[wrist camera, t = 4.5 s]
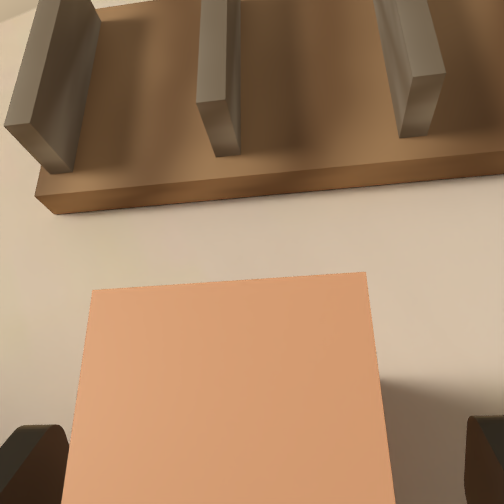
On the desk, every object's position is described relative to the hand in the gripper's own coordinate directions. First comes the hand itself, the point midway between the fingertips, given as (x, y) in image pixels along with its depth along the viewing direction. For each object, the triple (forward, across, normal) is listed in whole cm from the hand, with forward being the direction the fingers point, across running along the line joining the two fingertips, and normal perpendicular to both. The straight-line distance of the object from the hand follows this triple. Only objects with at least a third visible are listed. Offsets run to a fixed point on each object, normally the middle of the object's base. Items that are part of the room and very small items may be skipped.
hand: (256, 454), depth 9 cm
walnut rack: (+15, -2, -7) cm, 16 cm away
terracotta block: (+4, 0, +4) cm, 6 cm away
